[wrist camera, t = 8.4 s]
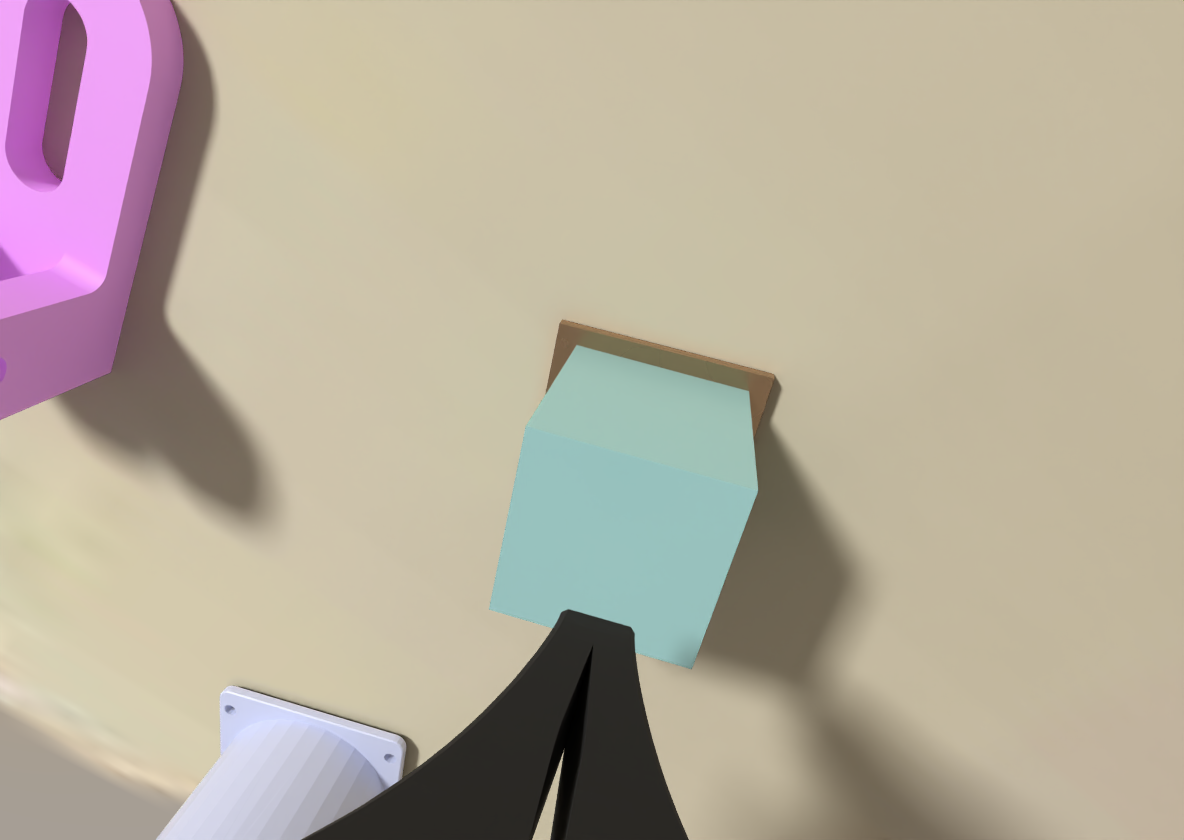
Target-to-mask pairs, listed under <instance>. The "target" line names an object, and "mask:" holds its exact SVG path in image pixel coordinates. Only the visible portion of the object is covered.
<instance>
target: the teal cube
mask: <svg viewBox="0 0 1184 840" xmlns="http://www.w3.org/2000/svg"><path fill="white" fill-rule="evenodd" d="M757 493H758V483H757V472H756V461H755V451H754V440H753V429H752V418H751V408H750V397H749V391H746V390H742V389H739V388H735V387H731V386H727V385H724V384H720V383H716V382H713V381H709V380H705V379H701V378H698V377H694V376H690V375H687V374H683V373H679V372H675V371H672V370H668V369H664V368H660V367H657V366H653V365H649V364H646V363H642V362H638V361H634V360H631V359H627V358H623V357H619V356H616V355H612V354H608V353H605V352H601V351H597V350H593V349H590V348H586V347H582V346H578V345H576V347H575V348H574V350H573V352H572V353H571V355H570V356H569V358H568V360H567V361H566V363H565V364H564V366H563V368H562V369H561V371H560V372H559V374H558V376H557V377H556V379H555V380H554V382H553V384H552V385H551V387H550V388H549V390H548V392H547V393H546V395H545V396H544V398H543V400H542V401H541V403H540V404H539V406H538V408H537V409H536V411H535V412H534V414H533V416H532V417H531V419H530V420H529V422H528V424H527V425H526V428H525V433H524V438H523V443H522V448H521V453H520V458H519V463H518V468H517V473H516V478H515V483H514V488H513V493H512V498H511V503H510V508H509V513H508V518H507V523H506V528H505V533H504V538H503V543H502V547H501V552H500V557H499V562H498V567H497V572H496V577H495V582H494V587H493V592H492V597H491V602H490V607H489V610H492V611H496V612H499V613H503V614H506V615H509V616H513V617H516V618H520V619H523V620H526V621H530V622H533V623H537V624H540V625H543V626H547V627H550V628H553V627H554V626H555V624H556V622H557V620H558V618H559V616H560V614H561V612H563V611H565V610H567V609H570V610H574V611H577V612H581V613H584V614H588V615H591V616H595V617H598V618H602V619H605V620H609V621H612V622H616V623H619V624H623V625H626V626H630V627H631V628H632V630H633V631H634V633H635V653H638V654H642V655H645V656H649V657H652V658H655V659H659V660H662V661H666V662H669V663H672V664H676V665H679V666H682V667H686V668H689V669H692V667H693V664H694V662H695V659H696V656H697V654H698V651H699V648H700V646H701V643H702V640H703V638H704V635H705V632H706V630H707V627H708V624H709V621H710V619H711V616H712V613H713V611H714V608H715V605H716V603H717V600H718V597H719V595H720V592H721V589H722V587H723V584H724V581H725V579H726V576H727V573H728V570H729V568H730V565H731V562H732V560H733V557H734V554H735V552H736V549H737V546H738V544H739V541H740V538H741V536H742V533H743V530H744V527H745V525H746V522H747V519H748V517H749V514H750V511H751V509H752V506H753V503H754V501H755V498H756V495H757Z"/></svg>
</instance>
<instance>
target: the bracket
mask: <svg viewBox="0 0 1184 840" xmlns="http://www.w3.org/2000/svg"><path fill="white" fill-rule="evenodd" d="M70 3H71V4H72V5H73V6H74V7H75V8H76V10H77V11H78V13H79V14H80V16H81V18H82V20H83V23H84V25H85V29H86V33H87V51H86V56H85V62H84V67H83V73H82V78H81V84H80V89H79V94H78V100H77V105H76V111H75V116H74V122H73V127H72V133H71V138H70V144H69V149H68V154H67V160H66V165H65V171H64V176H63V180H62V182H61V181H60V180H59V179H58V178H57V177H56V176H55V175H54V174H53V173H52V172H51V170H50V169H49V167H48V165H47V163H46V161H45V158H44V155H43V150H42V141H43V135H44V129H45V123H46V117H47V111H48V105H49V99H50V93H51V87H52V81H53V75H54V69H55V63H56V57H57V51H58V45H59V39H60V33H61V26H62V20H63V15H64V12H65V10H66V8H67V6H68V5H69V4H70ZM183 66H184V60H183V44H182V38H181V32H180V28H179V24H178V20H177V17H176V14H175V11H174V9H173V6H172V3H171V1H170V0H0V420H1V419H3V418H6V417H8V416H10V415H13V414H15V413H17V412H20V411H22V410H24V409H27V408H29V407H31V406H34V405H36V404H38V403H41V402H43V401H45V400H48V399H50V398H52V397H55V396H57V395H59V394H62V393H64V392H66V391H69V390H71V389H73V388H76V387H78V386H80V385H83V384H85V383H87V382H90V381H92V380H94V379H97V378H99V377H101V376H104V375H106V374H108V373H111V370H112V366H113V362H114V358H115V353H116V349H117V345H118V341H119V337H120V333H121V329H122V325H123V321H124V317H125V313H126V308H127V304H128V300H129V296H130V292H131V288H132V284H133V280H134V276H135V272H136V268H137V263H138V259H139V255H140V251H141V247H142V243H143V239H144V235H145V231H146V227H147V223H148V218H149V214H150V210H151V206H152V202H153V198H154V194H155V190H156V186H157V182H158V178H159V174H160V169H161V165H162V161H163V157H164V153H165V149H166V145H167V141H168V137H169V133H170V129H171V124H172V120H173V116H174V112H175V108H176V104H177V100H178V96H179V92H180V88H181V82H182V77H183Z"/></svg>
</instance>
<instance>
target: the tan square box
mask: <svg viewBox="0 0 1184 840" xmlns="http://www.w3.org/2000/svg"><path fill="white" fill-rule="evenodd" d="M576 345H578V346H582V347H586V348H590V349H593V350H597V351H601V352H605V353H608V354H612V355H616V356H619V357H623V358H627V359H631V360H634V361H638V362H642V363H646V364H649V365H653V366H657V367H660V368H664V369H668V370H672V371H675V372H679V373H683V374H687V375H690V376H694V377H698V378H701V379H705V380H709V381H713V382H716V383H720V384H724V385H727V386H731V387H735V388H739V389H742V390H746V391H749V397H750V408H751V418H752V429H753V440H754V437H755V434H756V431H757V428H758V426H759V423H760V420H761V417H762V414H763V411H764V408H765V405H766V402H767V400H768V397H769V394H770V391H771V388H772V385H773V382H774V379H775V378H774V374H772V373H768V372H764V371H760V370H756V369H752V368H748V367H744V366H741V365H737V364H733V363H729V362H725V361H721V360H717V359H713V358H710V357H706V356H702V355H698V354H694V353H690V352H686V351H682V350H678V349H675V348H671V347H667V346H663V345H659V344H655V343H651V342H647V341H644V340H640V339H636V338H632V337H628V336H624V335H620V334H616V333H612V332H609V331H605V330H601V329H597V328H593V327H589V326H585V325H581V324H578V323H574V322H570V321H566V320H562V321H561V322H560V324H559V329H558V334H557V339H556V344H555V349H554V354H553V359H552V364H551V369H550V374H549V379H548V384H547V389H546V393H547V392H548V390H549V388H550V387H551V385H552V384H553V382H554V380H555V379H556V377H557V376H558V374H559V372H560V371H561V369H562V368H563V366H564V364H565V363H566V361H567V360H568V358H569V356H570V355H571V353H572V352H573V350H574V348H575V347H576ZM545 395H546V394H545Z"/></svg>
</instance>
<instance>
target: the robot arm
mask: <svg viewBox="0 0 1184 840" xmlns="http://www.w3.org/2000/svg"><path fill="white" fill-rule="evenodd" d="M220 743H221V756H220V758H219V759H218V760H217V761H216V763H215V764H214V765H213V767H212V768H211V769H210V770H209V772H208V773H207V774H206V776H205V777H204V778H203V779H202V781H201V782H200V783H199V785H198V786H197V787H196V788H195V790H194V791H193V792H192V794H191V795H190V796H189V797H188V799H187V800H186V801H185V803H184V804H183V805H182V806H181V808H180V809H179V810H178V812H177V813H176V814H175V815H174V817H173V818H172V819H171V821H170V822H169V823H168V824H167V826H166V827H165V828H164V830H163V831H162V832H161V833H160V835H159V836H158V837H157V838H156V840H532V838H533V835H534V833H535V830H536V827H537V824H538V821H539V819H540V816H541V813H542V810H543V807H544V805H545V802H546V799H547V796H548V793H549V791H550V788H551V785H552V782H553V779H554V776H555V774H556V771H557V768H558V765H559V762H560V760H561V757H562V754H563V751H564V755H563V761H562V768H561V774H560V781H559V787H558V794H557V800H556V807H555V813H554V820H553V826H552V833H551V840H689V839H688V837H687V835H686V832H685V830H684V828H683V825H682V823H681V820H680V818H679V816H678V813H677V811H676V808H675V805H674V803H673V800H672V798H671V795H670V792H669V790H668V787H667V784H666V781H665V778H664V775H663V772H662V769H661V766H660V763H659V760H658V756H657V753H656V750H655V746H654V743H653V739H652V736H651V732H650V728H649V724H648V720H647V716H646V711H645V707H644V703H643V698H642V693H641V688H640V682H639V676H638V670H637V662H636V653H635V633H634V631H633V630H632V628H631V627H630V626H626V625H623V624H619V623H616V622H612V621H609V620H605V619H602V618H598V617H595V616H591V615H588V614H584V613H581V612H577V611H574V610H570V609H567V610H565V611H563V612H561V614H560V616H559V618H558V620H557V622H556V624H555V626H554V627H553V629H552V631H551V632H550V634H549V635H548V637H547V638H546V640H545V641H544V642H543V644H542V645H541V646H540V648H539V649H538V651H537V652H536V653H535V655H534V656H533V657H532V658H531V659H530V661H529V662H528V663H527V664H526V666H525V667H524V668H523V669H522V670H521V672H520V673H519V674H518V675H517V676H516V678H515V679H514V680H513V681H512V682H511V683H510V684H509V685H508V686H507V688H506V689H505V690H504V691H503V692H502V693H501V694H500V695H499V696H498V697H497V698H496V699H495V700H494V701H493V702H492V703H491V704H490V705H489V706H488V707H487V709H485V710H484V711H483V712H482V713H481V714H480V715H479V716H478V717H477V718H476V719H475V720H474V721H473V722H472V723H471V724H470V725H469V726H468V727H466V728H465V729H464V730H463V731H462V732H461V733H460V734H458V735H457V736H456V737H455V738H454V739H453V740H452V741H450V742H449V743H448V744H447V745H446V746H444V747H443V748H442V749H441V750H439V751H438V752H437V753H436V754H434V755H433V756H432V757H431V758H429V759H428V760H427V761H426V762H424V763H423V764H422V765H420V766H419V767H418V768H416V769H415V770H414V771H412V772H411V773H409V774H408V775H407V776H405V777H404V778H402V774H403V767H404V760H405V753H406V743H405V741H404V739H403V738H402V737H400V736H398V735H396V734H393V733H389V732H386V731H383V730H379V729H376V728H373V727H369V726H366V725H363V724H359V723H356V722H353V721H349V720H346V719H343V718H340V717H336V716H333V715H330V714H326V713H323V712H320V711H316V710H313V709H310V708H306V707H303V706H300V705H296V704H293V703H290V702H287V701H283V700H280V699H277V698H273V697H270V696H267V695H263V694H260V693H257V692H253V691H250V690H247V689H243V688H240V687H237V686H228V687H226V688H225V689H224V691H223V692H222V693H221V694H220ZM564 748H565V749H564Z"/></svg>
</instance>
